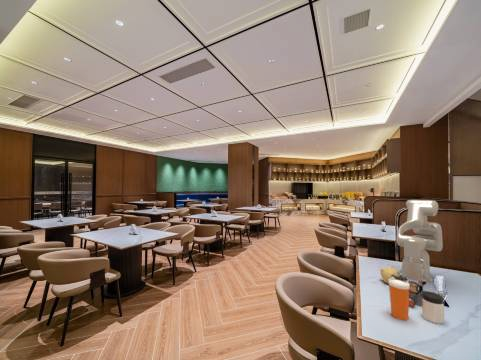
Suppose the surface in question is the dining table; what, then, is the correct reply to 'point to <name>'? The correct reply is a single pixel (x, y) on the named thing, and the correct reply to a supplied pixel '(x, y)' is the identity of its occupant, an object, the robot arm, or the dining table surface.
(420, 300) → the valve body
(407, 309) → the shaker bottle
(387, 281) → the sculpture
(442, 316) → the jar
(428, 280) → the robot arm
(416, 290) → the pipe stub
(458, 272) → the dining table surface
